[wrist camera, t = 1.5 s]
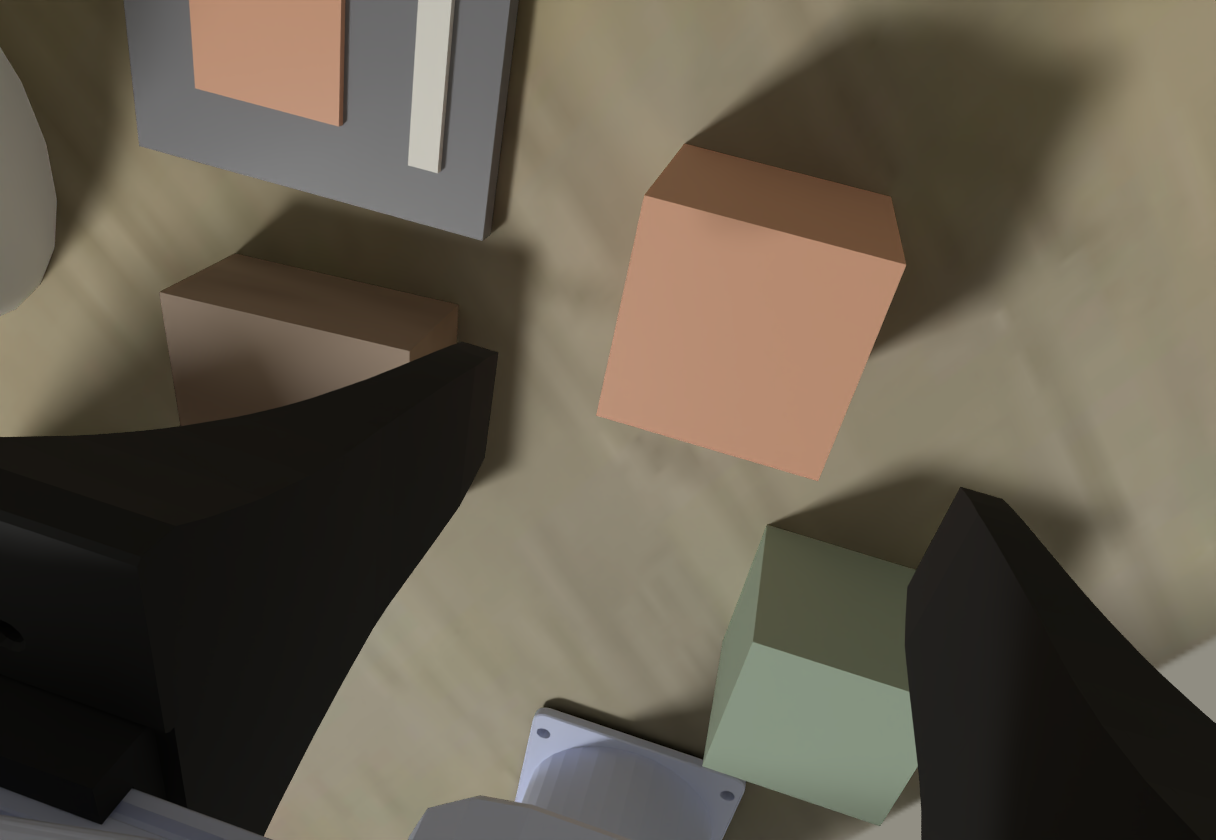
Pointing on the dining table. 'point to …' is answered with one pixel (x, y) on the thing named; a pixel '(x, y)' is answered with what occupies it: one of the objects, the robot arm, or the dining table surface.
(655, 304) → the terracotta block
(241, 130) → the card
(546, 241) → the dining table surface
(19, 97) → the honey pot
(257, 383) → the walnut base
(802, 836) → the dining table surface
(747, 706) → the sage block
